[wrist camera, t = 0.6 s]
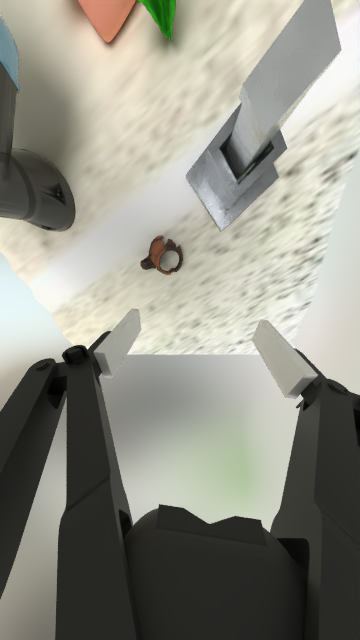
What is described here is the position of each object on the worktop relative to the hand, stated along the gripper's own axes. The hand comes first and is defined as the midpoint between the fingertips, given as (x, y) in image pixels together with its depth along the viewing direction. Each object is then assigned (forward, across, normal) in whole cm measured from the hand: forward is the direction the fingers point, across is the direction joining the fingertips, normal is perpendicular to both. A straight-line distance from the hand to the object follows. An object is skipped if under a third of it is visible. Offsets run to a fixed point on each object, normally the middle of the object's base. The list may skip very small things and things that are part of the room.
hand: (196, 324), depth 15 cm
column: (+29, +6, +20) cm, 36 cm away
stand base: (+30, +6, +20) cm, 37 cm away
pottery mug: (+31, -10, +3) cm, 33 cm away
